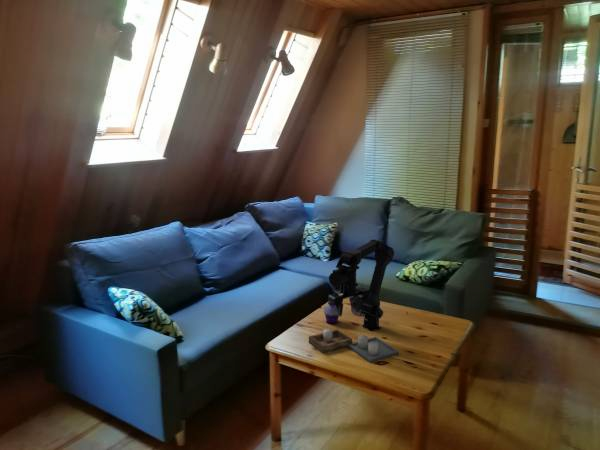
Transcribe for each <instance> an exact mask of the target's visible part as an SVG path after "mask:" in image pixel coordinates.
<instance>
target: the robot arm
mask: <svg viewBox="0 0 600 450" xmlns="http://www.w3.org/2000/svg"><path fill="white" fill-rule="evenodd" d="M373 253H374V261H375V266H374V270H373V273H372V277H371V281H370V283H369V289H368V288H365V287H363V286H362V287H358V285H359V283H358V282H357V271H358V270H360V266H359V265H360V263H362V259H364V258H367V256H369V255H371V254H373ZM394 255H395V250H394V248H393V247H391V246H389V245H387V244H386V243H384V242H383V241H381V240H378V239H374V238H373V239H371V240H370V241H368V242H367V243H365V244H362V245H361V246H359V247H358V248H355V249H347V250H344V251H343V252H342V253H341V255H340V257H339V259H338V261H337V264H336V265H335V268H336V269H333V270H332V273H330V274H329V276H328V281H329V283H330V285H331V290H332V291H334V292H339V293H340V294H338V293H331V294H328V296H327V302H328V301H329V302H331V303H333V304H334V305H335V306H336V308H337V311H338V314H339V317H342V315H343V308H344V303H343V302H344V300H347V299H349V298H351V297H356V311H357V312H359V310H360V309H361V311H362V314H365V316H364V318H363V324H362V325H361V326H362V327H363V328H364V329H366V330H368V331H370V332H372V331H375V330H379V329H381V328H382V326H381V325H380V319H381V318H382V317H383V315H384V311H383V310H382V309H381V300H380V297H379V295H380V291H381V288H382V284H383V280H384V277H385V273H386V270H387V266H389V264H390V263H391V262H392V261H393V258H394ZM379 325H380V326H379Z"/></svg>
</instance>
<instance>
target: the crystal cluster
mask: <svg viewBox="0 0 600 450" xmlns="http://www.w3.org/2000/svg"><path fill="white" fill-rule="evenodd" d="M348 300H349V303H350V304H349V306H350V311H351V312H352V313H353V314H354V315H356V316H363V317H365V314H362V311H361V309H360V310H359V312H357V311H356V297H351V298H348Z"/></svg>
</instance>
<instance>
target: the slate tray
mask: <svg viewBox="0 0 600 450" xmlns="http://www.w3.org/2000/svg"><path fill="white" fill-rule="evenodd" d="M369 342H377V343H378V355H377V356H370V355H368V343H369ZM368 343H367V348H366V349H360V348H358V341H355V342H352V343H351V344H348V347H347V348H348V349H350V350H351V351H352V352H354V353H356V354H357V355H358V356H359V357H361V358H363V359H364V360H365V361H367V362H368V363H370V364H371V363H374V362H377V361H380V360H383V359H384V360H385V359H387V358H390V357H393V356H396V355H399V353H400V352H399V350H398V349H396V348H395V347H393V346H391V345H390V344H389V343H387V342H386V341H384V340H382V339H380V338H378V336H374V337H370V338H368Z"/></svg>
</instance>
